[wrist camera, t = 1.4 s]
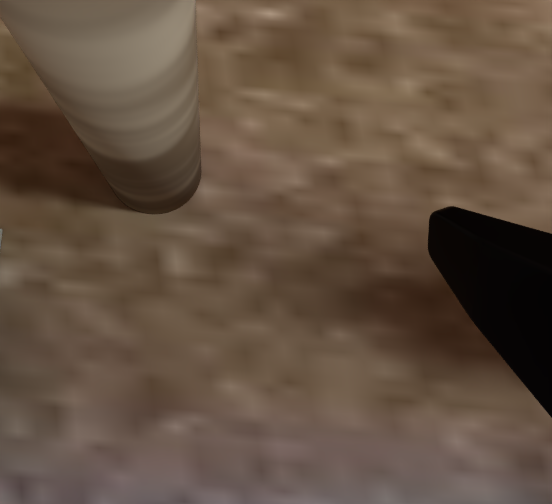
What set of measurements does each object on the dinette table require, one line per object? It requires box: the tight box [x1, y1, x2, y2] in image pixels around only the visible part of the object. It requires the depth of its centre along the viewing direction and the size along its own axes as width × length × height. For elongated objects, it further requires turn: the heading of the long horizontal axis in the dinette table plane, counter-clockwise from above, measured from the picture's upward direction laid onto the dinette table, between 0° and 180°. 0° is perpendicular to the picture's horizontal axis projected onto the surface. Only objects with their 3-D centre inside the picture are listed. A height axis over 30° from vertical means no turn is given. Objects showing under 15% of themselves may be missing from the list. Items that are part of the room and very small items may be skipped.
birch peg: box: [0, 0, 201, 214], centre depth 15 cm, size 4×4×14 cm
